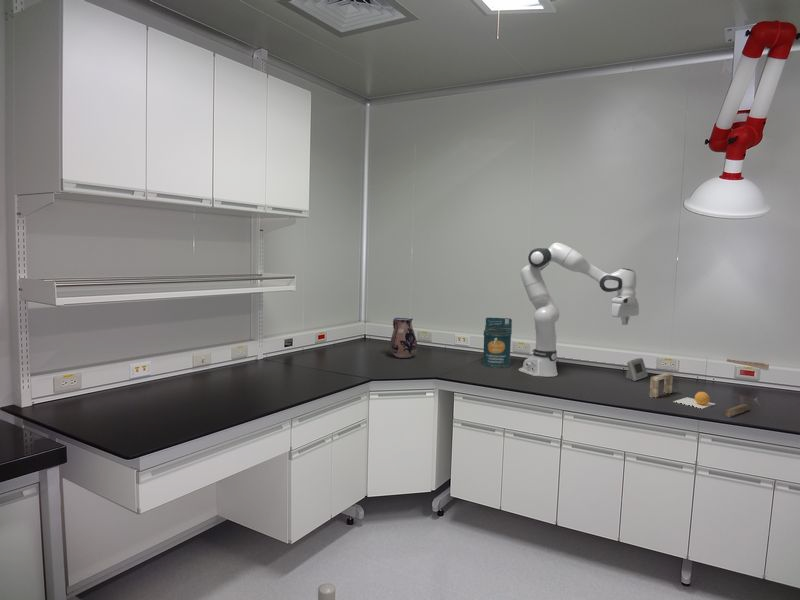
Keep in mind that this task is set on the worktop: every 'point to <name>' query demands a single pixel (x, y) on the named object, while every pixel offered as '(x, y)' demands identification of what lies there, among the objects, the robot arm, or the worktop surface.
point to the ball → (702, 398)
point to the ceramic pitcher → (403, 338)
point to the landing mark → (693, 403)
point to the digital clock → (636, 369)
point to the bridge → (655, 383)
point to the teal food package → (497, 342)
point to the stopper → (736, 410)
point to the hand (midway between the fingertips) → (624, 324)
